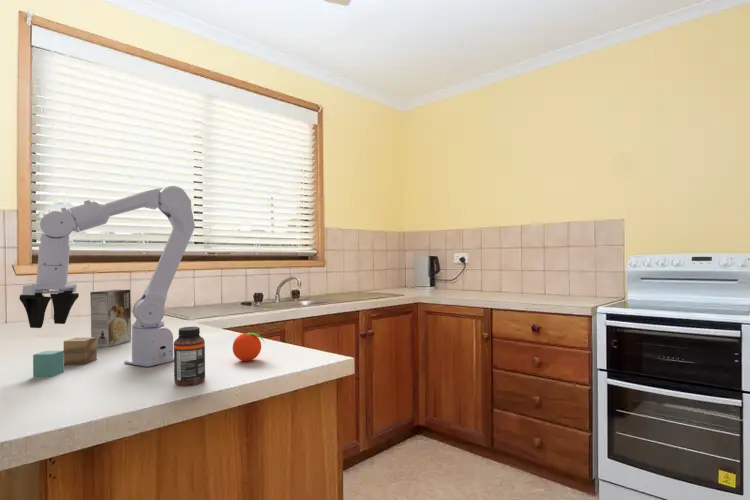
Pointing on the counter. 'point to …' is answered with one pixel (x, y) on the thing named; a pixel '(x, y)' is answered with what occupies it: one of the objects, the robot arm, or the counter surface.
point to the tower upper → (80, 345)
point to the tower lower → (80, 358)
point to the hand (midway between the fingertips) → (48, 325)
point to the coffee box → (110, 317)
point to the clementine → (247, 346)
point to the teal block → (48, 363)
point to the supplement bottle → (189, 357)
